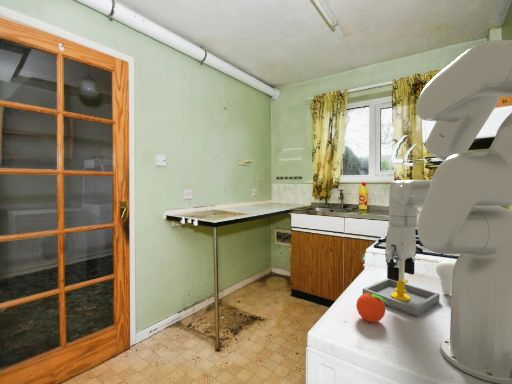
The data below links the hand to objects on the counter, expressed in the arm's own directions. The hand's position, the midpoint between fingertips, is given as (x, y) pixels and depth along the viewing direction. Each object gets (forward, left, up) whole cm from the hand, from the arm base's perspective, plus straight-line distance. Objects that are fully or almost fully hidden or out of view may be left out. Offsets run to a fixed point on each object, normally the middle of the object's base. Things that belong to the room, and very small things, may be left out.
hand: (400, 276), depth 80 cm
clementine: (-2, +19, -7) cm, 20 cm away
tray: (0, 0, -7) cm, 7 cm away
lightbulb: (-7, -16, -7) cm, 19 cm away
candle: (0, 0, -7) cm, 7 cm away
